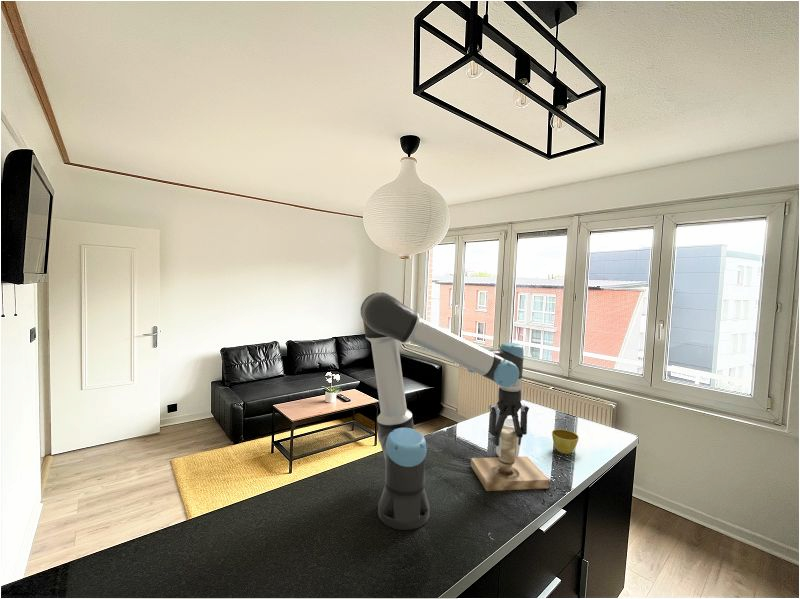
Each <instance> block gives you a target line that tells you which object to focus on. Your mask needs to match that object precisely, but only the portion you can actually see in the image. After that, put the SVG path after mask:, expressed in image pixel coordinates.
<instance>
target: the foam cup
mask: <svg viewBox="0 0 800 599" xmlns="http://www.w3.org/2000/svg"><path fill="white" fill-rule="evenodd" d="M518 420H519V424H520V421H521V419H518ZM502 429H509V430H513V431H514V432H515V429H514V424H513V419H512V417H507V418H506V419H505V422H504V425H503V428H502ZM522 440H523V437H522V438H521V441H522ZM521 445H522V443H521V444H520V445H518V456H516V455H515V457H519V454H520V448H521Z"/></svg>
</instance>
